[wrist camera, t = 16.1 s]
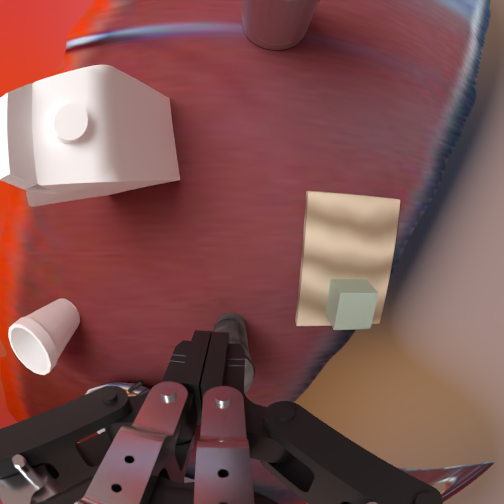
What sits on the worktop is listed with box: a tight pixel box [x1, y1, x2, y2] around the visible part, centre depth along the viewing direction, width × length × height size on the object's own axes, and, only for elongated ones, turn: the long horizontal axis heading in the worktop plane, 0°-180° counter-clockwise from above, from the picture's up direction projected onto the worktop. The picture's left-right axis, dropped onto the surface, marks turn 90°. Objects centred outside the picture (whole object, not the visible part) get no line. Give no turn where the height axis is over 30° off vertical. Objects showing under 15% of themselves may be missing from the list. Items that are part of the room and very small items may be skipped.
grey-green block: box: [326, 279, 378, 330], centre depth 39 cm, size 6×6×5 cm
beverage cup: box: [213, 313, 255, 393], centre depth 35 cm, size 7×7×20 cm
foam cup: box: [8, 299, 80, 375], centre depth 38 cm, size 10×9×13 cm
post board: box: [295, 191, 400, 326], centre depth 39 cm, size 20×14×6 cm
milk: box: [0, 65, 180, 207], centre depth 24 cm, size 12×12×26 cm
